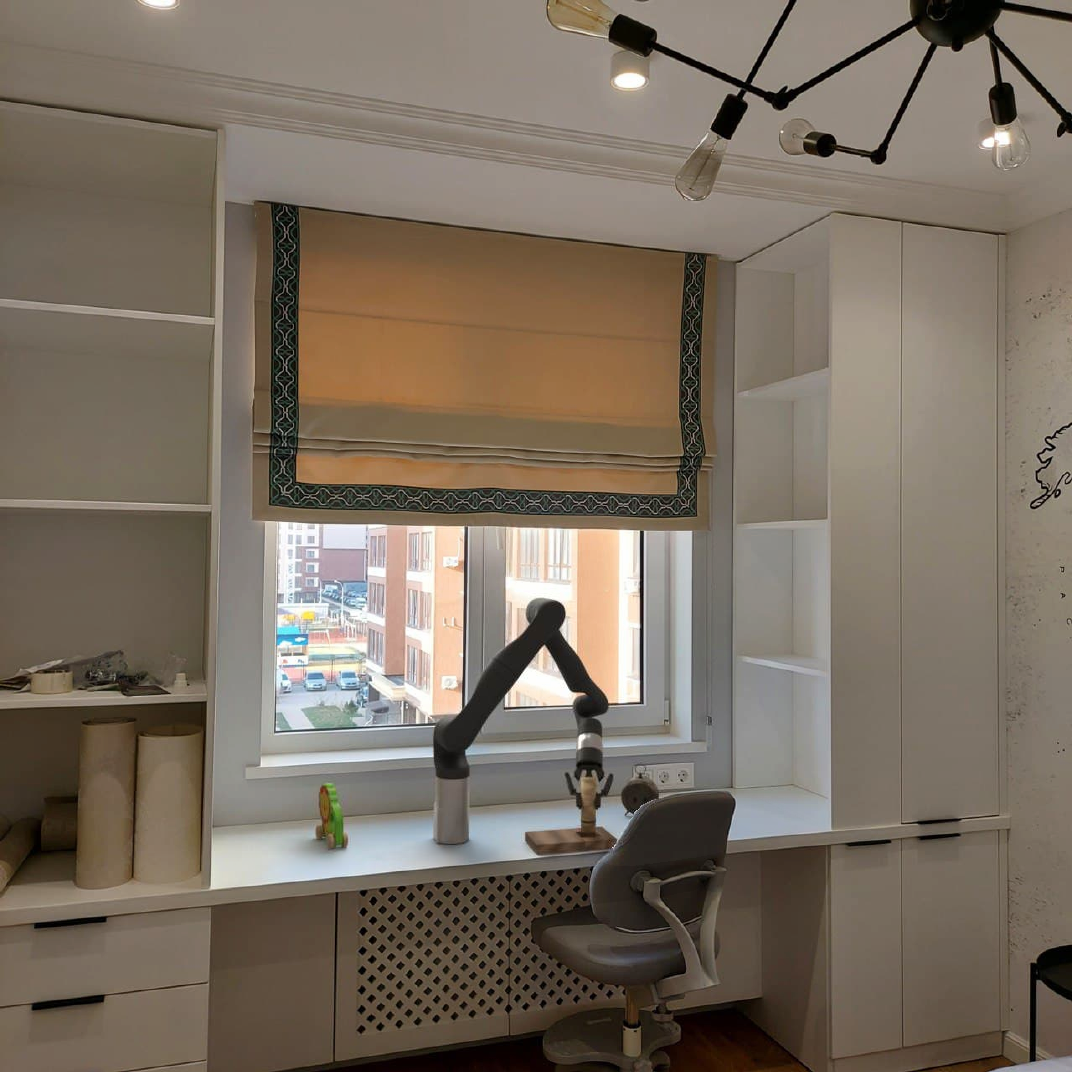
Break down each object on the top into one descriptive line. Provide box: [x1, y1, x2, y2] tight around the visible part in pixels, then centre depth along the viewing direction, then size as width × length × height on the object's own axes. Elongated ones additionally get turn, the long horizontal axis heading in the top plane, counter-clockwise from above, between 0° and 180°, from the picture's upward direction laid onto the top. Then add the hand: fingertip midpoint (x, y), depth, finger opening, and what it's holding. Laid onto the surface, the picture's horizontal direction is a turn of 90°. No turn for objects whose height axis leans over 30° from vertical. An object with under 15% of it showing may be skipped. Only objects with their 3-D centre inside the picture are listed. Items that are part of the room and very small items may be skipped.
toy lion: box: [315, 782, 349, 850], centre depth 253 cm, size 16×6×15 cm, turn 29°
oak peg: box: [580, 777, 597, 833], centre depth 254 cm, size 4×4×14 cm
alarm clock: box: [620, 762, 660, 817], centre depth 279 cm, size 11×5×16 cm, turn 76°
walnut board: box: [524, 826, 618, 856], centre depth 252 cm, size 22×12×2 cm, turn 106°
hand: (588, 807), depth 252 cm, fingers closed on oak peg, 4 cm apart
